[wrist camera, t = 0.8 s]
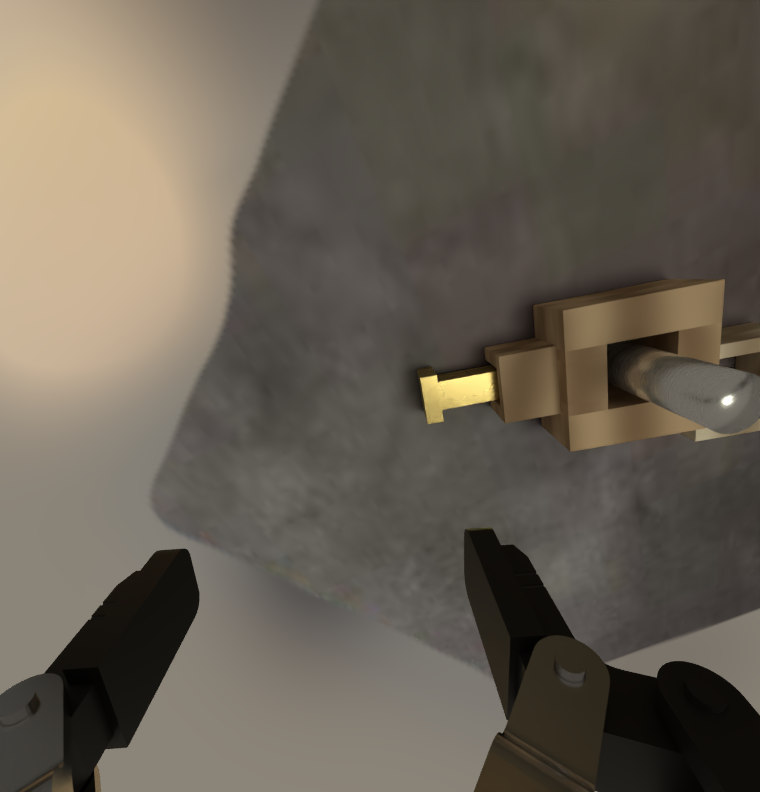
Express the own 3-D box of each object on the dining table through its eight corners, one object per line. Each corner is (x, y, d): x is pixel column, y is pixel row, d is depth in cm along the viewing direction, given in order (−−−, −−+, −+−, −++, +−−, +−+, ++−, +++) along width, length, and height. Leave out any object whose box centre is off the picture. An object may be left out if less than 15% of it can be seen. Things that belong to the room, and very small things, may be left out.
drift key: (520, 349, 30) (534, 357, 27) (524, 393, 31) (537, 404, 28) (416, 369, 30) (420, 378, 28) (423, 411, 32) (427, 424, 29)
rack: (751, 322, 30) (806, 329, 26) (744, 406, 32) (794, 424, 28) (659, 339, 30) (700, 348, 26) (657, 422, 32) (695, 441, 28)
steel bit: (621, 332, 30) (772, 366, 18) (621, 372, 31) (765, 428, 19) (579, 340, 30) (703, 379, 19) (581, 379, 31) (700, 439, 20)
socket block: (667, 279, 29) (724, 279, 24) (664, 404, 32) (715, 426, 27) (480, 315, 29) (500, 322, 25) (494, 434, 32) (514, 461, 28)
